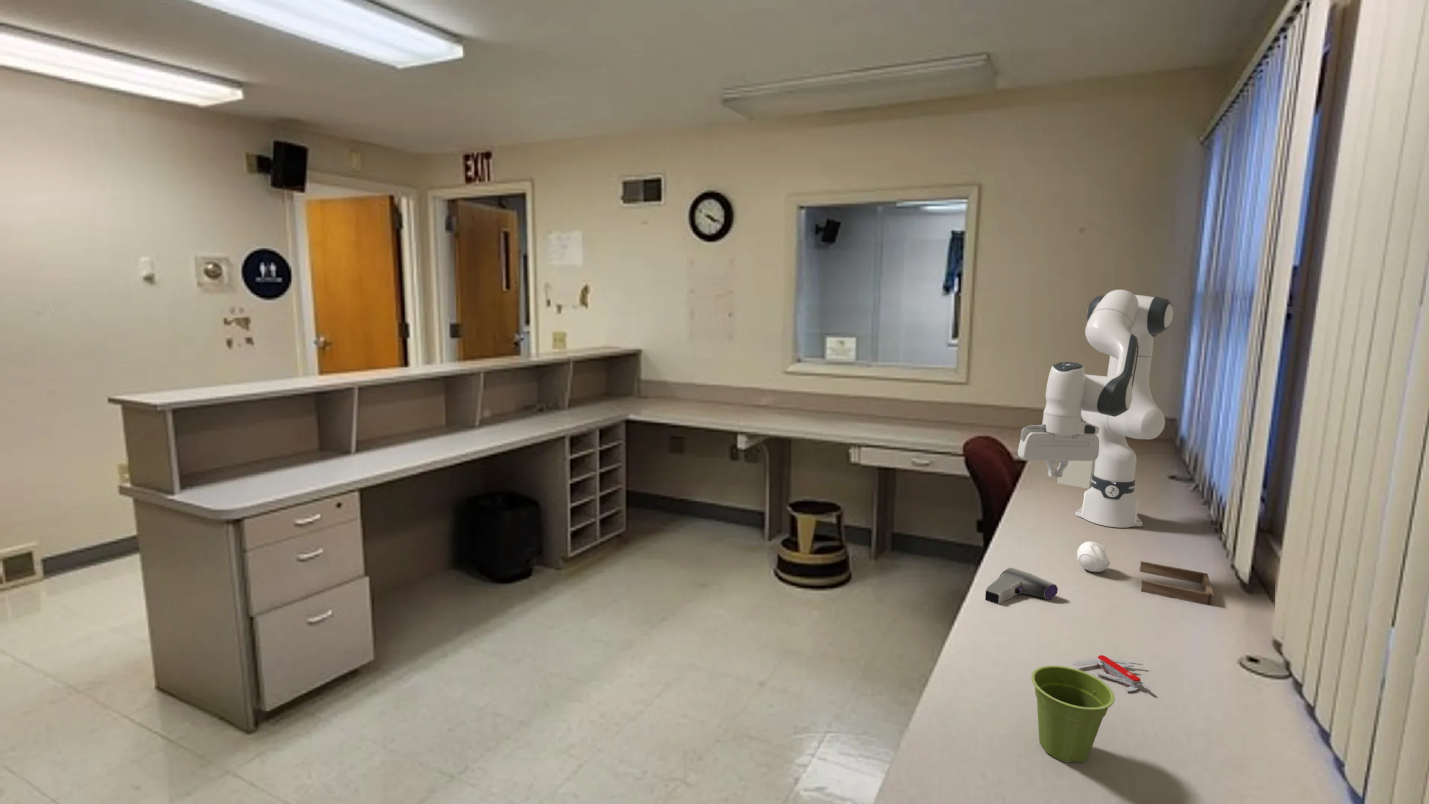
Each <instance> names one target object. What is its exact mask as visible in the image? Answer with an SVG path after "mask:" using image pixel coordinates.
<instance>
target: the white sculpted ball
mask: <svg viewBox="0 0 1429 804" xmlns="http://www.w3.org/2000/svg"><path fill="white" fill-rule="evenodd" d="M1105 550H1106V546H1105V545H1102V544H1100V543H1097V542H1095V541H1088V540H1087V541H1084V542H1083V543H1081V545H1079V547H1078V548H1077V551H1076V559H1077V562H1078V563H1079V565H1080V566H1081V567H1082V568H1083V569H1085V570H1086V571H1088V572H1091V573H1099V572H1100V573H1101V572H1104V571H1105V570H1107V568H1108V567H1109V566H1110V565H1111V562H1110V560H1109V558H1108V556H1107V555H1106V552H1105Z"/></svg>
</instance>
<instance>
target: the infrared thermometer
mask: <svg viewBox="0 0 1429 804" xmlns="http://www.w3.org/2000/svg"><path fill="white" fill-rule="evenodd" d="M1058 591H1059V588H1058V586H1057V584H1054V583H1052V582H1050V581H1048V580H1046V579H1044V578H1041V577H1039V576H1037V575H1035V574H1032V573H1030V572H1026V571H1024V570H1020V569H1017V568H1014V567H1009V568H1006V569H1005V570H1003V571H1002V572H1001V574H999V576H998V577H997V579H995V580H994V581H993V582H992V583H990V584H989V585H988V586H987V587H986V589H985V601H987V602H990V603H993V604H995V605H999V604H1000V603H1002V602H1004V601H1007V600H1010V599H1012V598H1013V597H1016V596H1017V595H1020V594H1026V595H1029V596H1033V597H1037V598H1041V599H1046V600H1051V599H1053V598H1055V596H1056V595H1057V594H1058Z"/></svg>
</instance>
